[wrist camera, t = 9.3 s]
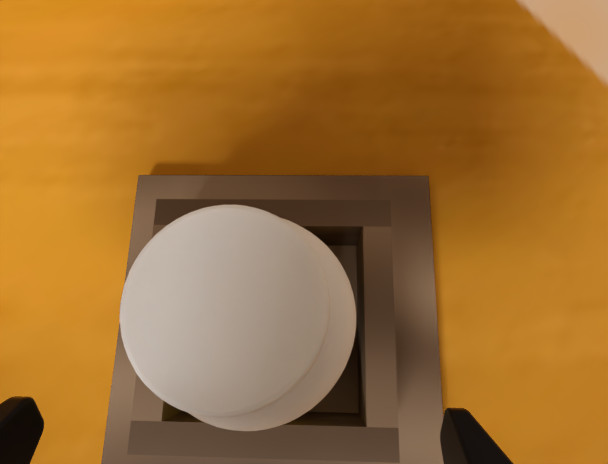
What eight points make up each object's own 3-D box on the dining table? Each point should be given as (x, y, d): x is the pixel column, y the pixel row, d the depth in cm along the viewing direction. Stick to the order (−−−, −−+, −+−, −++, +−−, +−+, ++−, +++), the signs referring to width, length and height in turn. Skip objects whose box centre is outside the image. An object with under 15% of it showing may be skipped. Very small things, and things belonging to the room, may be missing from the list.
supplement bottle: (273, 236, 18) (226, 119, 9) (371, 323, 17) (434, 293, 8) (183, 333, 17) (22, 315, 8) (280, 430, 16) (227, 543, 7)
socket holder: (442, 502, 16) (478, 548, 13) (107, 491, 17) (47, 531, 13) (424, 182, 20) (447, 144, 16) (145, 181, 20) (106, 144, 16)
